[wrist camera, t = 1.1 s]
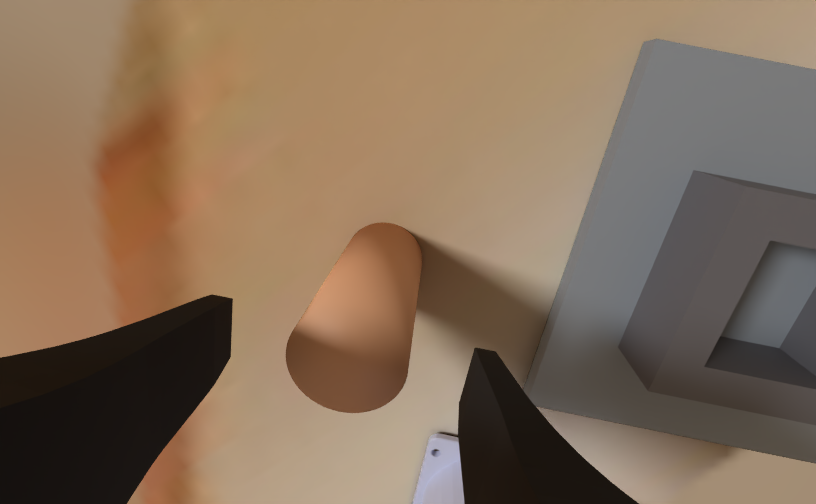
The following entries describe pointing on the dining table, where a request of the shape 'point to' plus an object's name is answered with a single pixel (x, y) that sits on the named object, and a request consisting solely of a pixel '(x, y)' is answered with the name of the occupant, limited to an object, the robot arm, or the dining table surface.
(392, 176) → the dining table surface
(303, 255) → the dining table surface
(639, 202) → the socket board
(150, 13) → the dining table surface
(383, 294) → the peg
